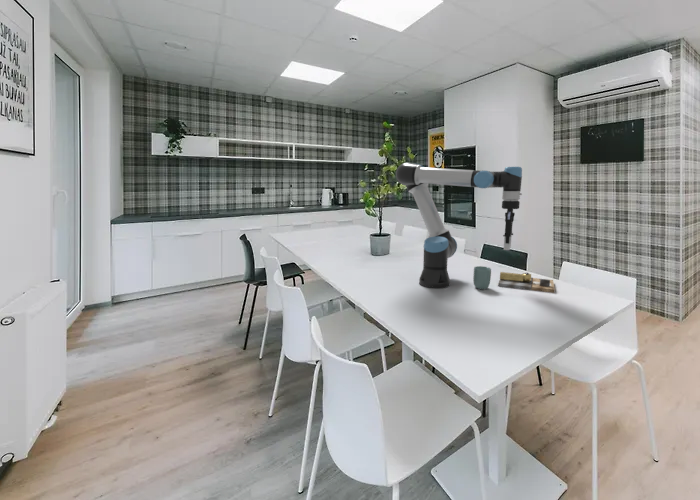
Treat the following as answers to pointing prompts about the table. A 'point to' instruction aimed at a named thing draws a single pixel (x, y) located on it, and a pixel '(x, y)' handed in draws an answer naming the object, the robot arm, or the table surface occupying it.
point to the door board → (529, 284)
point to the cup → (482, 277)
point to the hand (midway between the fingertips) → (507, 249)
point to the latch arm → (516, 276)
